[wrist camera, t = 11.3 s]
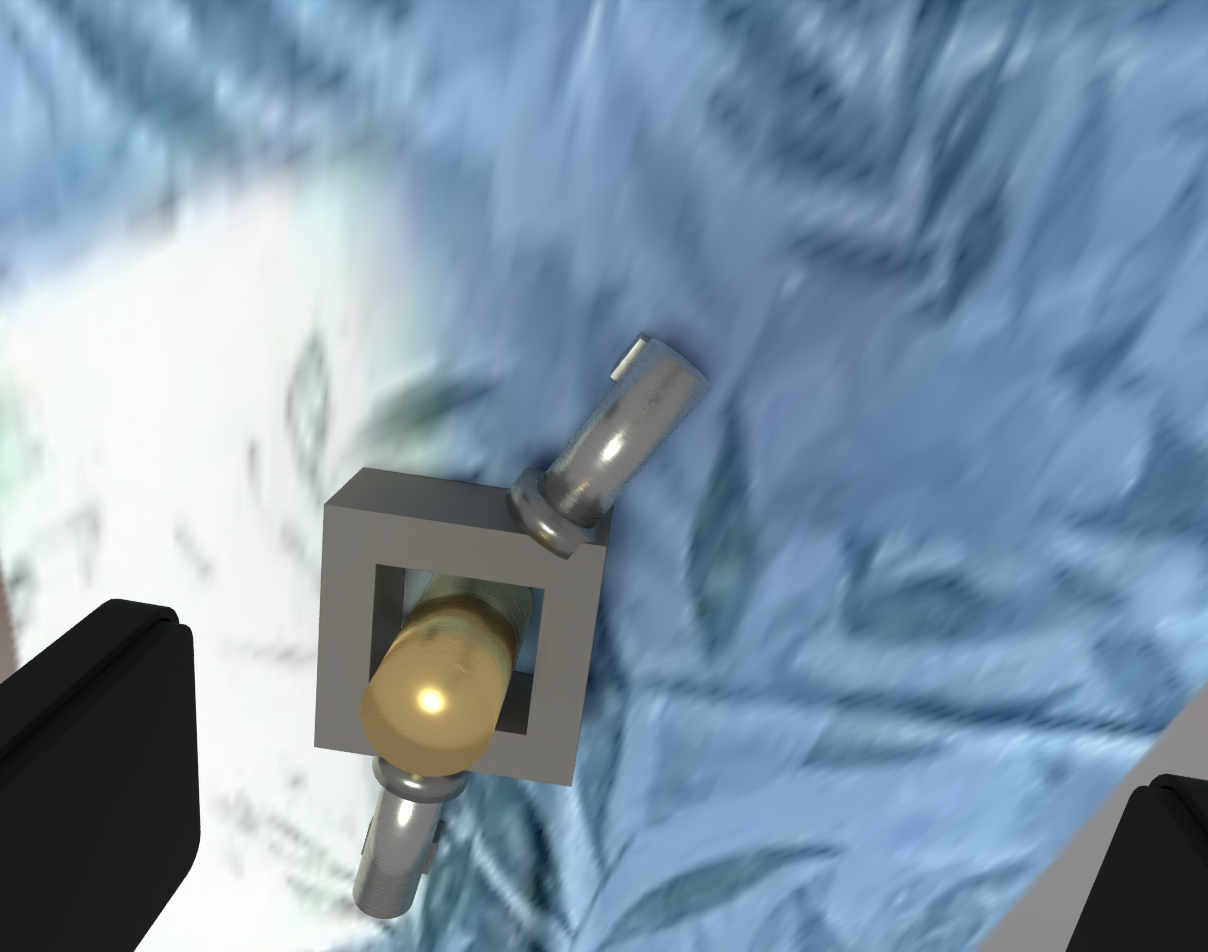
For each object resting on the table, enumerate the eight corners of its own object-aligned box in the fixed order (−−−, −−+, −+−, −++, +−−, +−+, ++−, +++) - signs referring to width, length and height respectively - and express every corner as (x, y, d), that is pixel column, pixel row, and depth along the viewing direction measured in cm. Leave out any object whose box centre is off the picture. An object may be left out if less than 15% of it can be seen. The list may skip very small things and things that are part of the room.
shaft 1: (399, 695, 36) (366, 760, 32) (487, 722, 36) (464, 791, 32) (359, 837, 38) (323, 915, 34) (441, 862, 39) (415, 943, 34)
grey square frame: (613, 504, 33) (606, 546, 29) (581, 722, 36) (571, 786, 32) (363, 467, 33) (324, 504, 30) (351, 687, 36) (314, 746, 32)
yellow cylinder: (537, 559, 34) (499, 670, 26) (527, 654, 35) (487, 785, 28) (431, 544, 34) (362, 650, 27) (424, 638, 35) (357, 766, 28)
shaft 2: (594, 532, 34) (584, 581, 30) (515, 473, 33) (494, 514, 29) (721, 380, 32) (729, 410, 27) (639, 315, 31) (635, 336, 27)
